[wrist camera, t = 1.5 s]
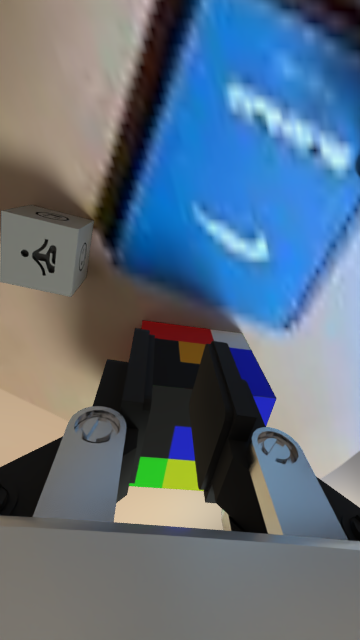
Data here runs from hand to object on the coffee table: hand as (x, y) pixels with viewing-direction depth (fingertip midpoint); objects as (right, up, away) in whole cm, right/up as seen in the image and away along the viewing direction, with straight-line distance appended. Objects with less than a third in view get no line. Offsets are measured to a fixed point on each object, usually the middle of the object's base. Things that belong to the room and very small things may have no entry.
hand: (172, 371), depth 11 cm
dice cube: (-10, +9, +15) cm, 20 cm away
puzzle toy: (+1, -3, +21) cm, 21 cm away
